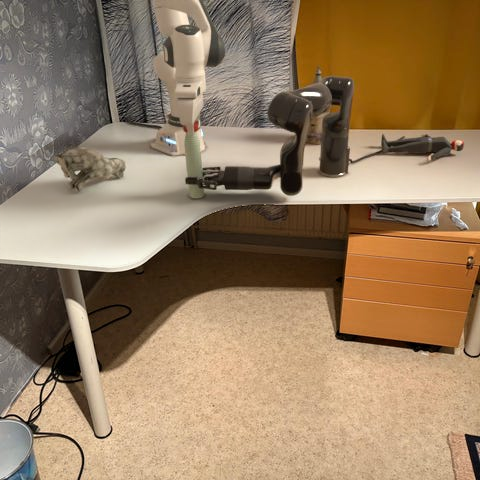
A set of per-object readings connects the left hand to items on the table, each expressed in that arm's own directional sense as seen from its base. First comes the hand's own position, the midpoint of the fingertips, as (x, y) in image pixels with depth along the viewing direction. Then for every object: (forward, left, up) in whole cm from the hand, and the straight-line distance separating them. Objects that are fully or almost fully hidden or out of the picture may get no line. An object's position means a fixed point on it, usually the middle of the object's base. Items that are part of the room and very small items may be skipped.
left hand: (193, 130), depth 164 cm
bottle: (0, 0, -22) cm, 22 cm away
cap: (-1, -1, +2) cm, 2 cm away
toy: (+48, +77, -22) cm, 94 cm away
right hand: (-3, -2, -15) cm, 16 cm away
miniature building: (+7, +69, -22) cm, 73 cm away
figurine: (-35, -13, -22) cm, 43 cm away
